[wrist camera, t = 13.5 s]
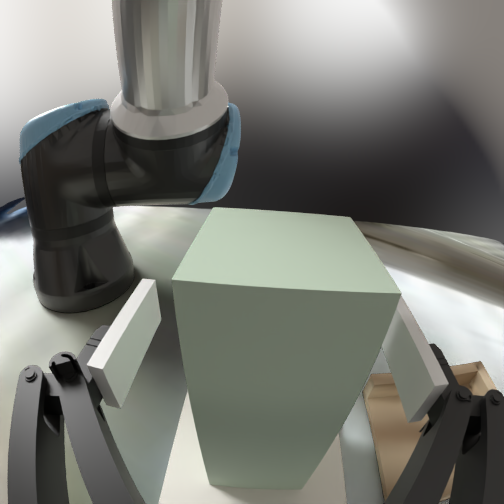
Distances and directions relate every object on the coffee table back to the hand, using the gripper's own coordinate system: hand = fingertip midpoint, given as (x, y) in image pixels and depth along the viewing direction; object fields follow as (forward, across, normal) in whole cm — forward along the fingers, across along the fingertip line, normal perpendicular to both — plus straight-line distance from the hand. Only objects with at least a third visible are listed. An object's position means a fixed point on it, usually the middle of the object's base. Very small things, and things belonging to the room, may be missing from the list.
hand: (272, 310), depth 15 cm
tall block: (-4, 0, -10) cm, 11 cm away
